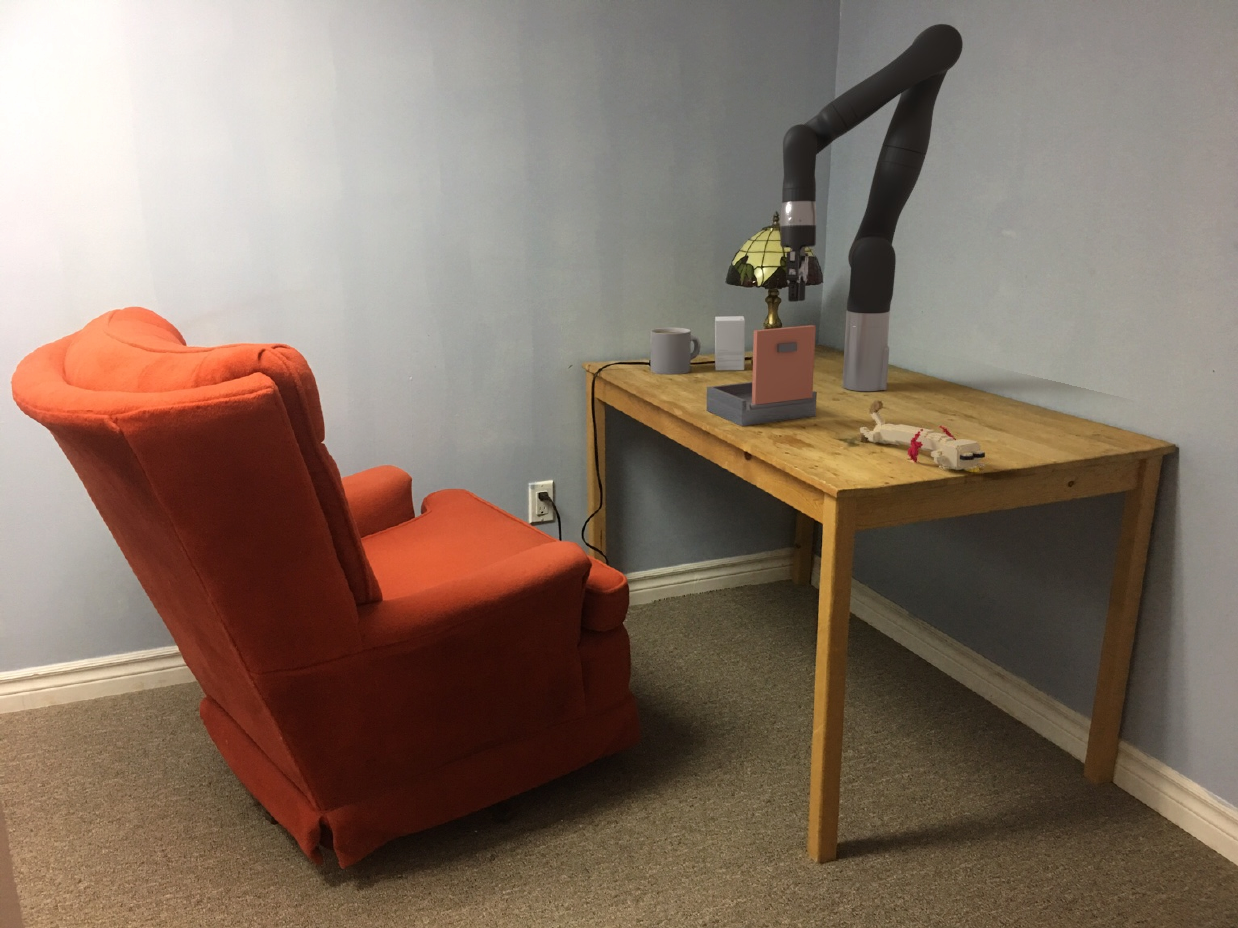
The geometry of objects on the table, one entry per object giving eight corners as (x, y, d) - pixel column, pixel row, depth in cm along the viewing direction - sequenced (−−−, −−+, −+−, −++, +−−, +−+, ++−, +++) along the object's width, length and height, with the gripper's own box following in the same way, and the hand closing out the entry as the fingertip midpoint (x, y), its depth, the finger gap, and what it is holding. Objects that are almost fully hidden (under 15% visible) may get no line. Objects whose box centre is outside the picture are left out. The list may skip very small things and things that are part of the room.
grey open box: (706, 410, 189) (706, 386, 187) (776, 402, 195) (777, 378, 193) (741, 426, 176) (742, 400, 175) (815, 416, 183) (816, 391, 181)
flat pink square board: (749, 409, 176) (751, 330, 171) (810, 401, 181) (814, 325, 177) (754, 411, 174) (756, 332, 170) (816, 403, 179) (820, 326, 175)
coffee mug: (658, 375, 223) (658, 334, 220) (645, 368, 232) (645, 329, 230) (709, 371, 227) (709, 331, 224) (694, 364, 236) (695, 325, 233)
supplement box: (743, 365, 234) (744, 315, 231) (744, 371, 227) (745, 320, 224) (714, 365, 235) (715, 315, 231) (714, 371, 228) (715, 320, 224)
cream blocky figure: (848, 451, 164) (957, 477, 142) (848, 402, 162) (958, 422, 140) (890, 443, 169) (1002, 467, 147) (891, 396, 167) (1004, 413, 145)
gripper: (811, 222, 189) (809, 301, 192) (820, 225, 202) (818, 300, 205) (774, 223, 191) (773, 302, 195) (786, 226, 205) (785, 300, 208)
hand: (796, 301), depth 200 cm, fingers open, 8 cm apart
